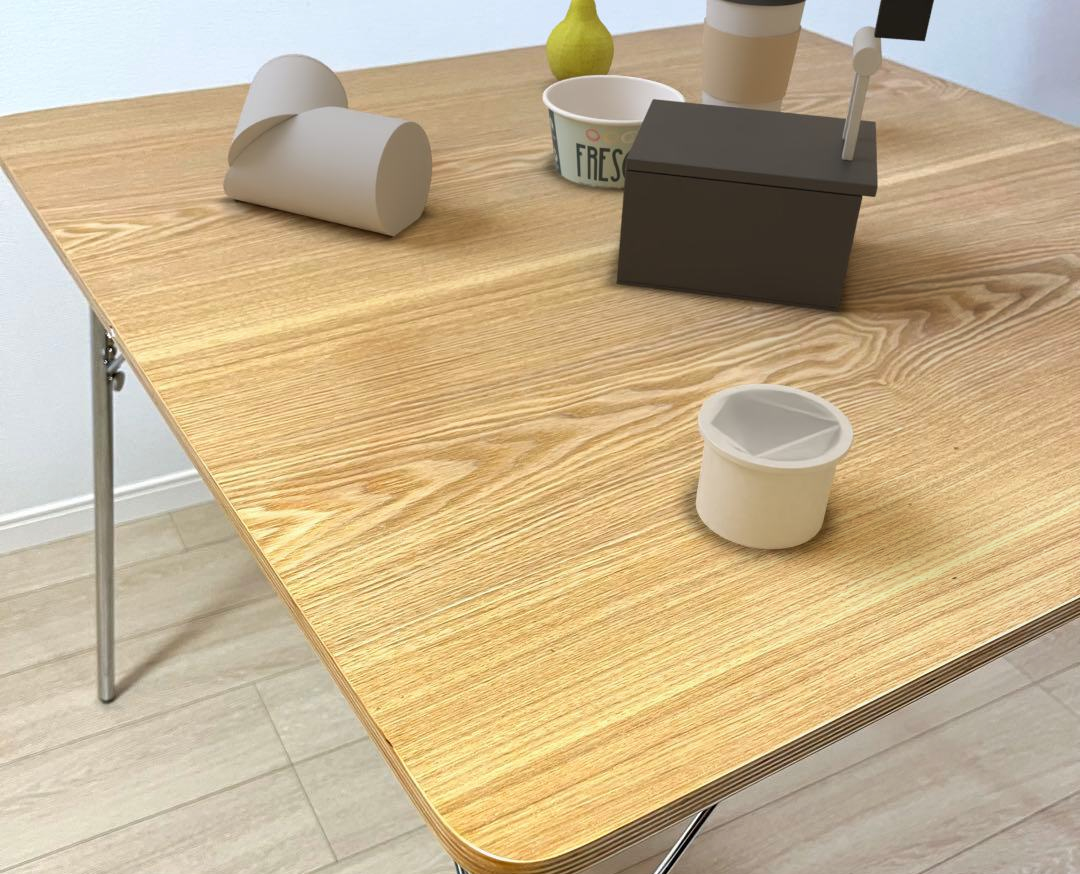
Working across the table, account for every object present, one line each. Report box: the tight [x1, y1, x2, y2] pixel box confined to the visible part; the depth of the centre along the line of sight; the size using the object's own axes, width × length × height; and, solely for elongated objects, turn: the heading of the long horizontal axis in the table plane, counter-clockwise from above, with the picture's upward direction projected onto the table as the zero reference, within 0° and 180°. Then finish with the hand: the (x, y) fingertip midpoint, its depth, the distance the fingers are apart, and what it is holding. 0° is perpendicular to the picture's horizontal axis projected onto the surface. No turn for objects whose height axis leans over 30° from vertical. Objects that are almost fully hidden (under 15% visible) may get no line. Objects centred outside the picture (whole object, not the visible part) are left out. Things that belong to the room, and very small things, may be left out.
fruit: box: [545, 0, 615, 82], centre depth 113 cm, size 7×7×12 cm
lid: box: [626, 25, 883, 198], centre depth 77 cm, size 16×13×8 cm
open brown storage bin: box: [615, 169, 863, 313], centre depth 82 cm, size 16×13×9 cm
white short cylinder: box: [695, 383, 855, 550], centre depth 59 cm, size 8×8×6 cm
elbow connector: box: [222, 53, 433, 237], centre depth 91 cm, size 18×10×20 cm
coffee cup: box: [700, 0, 807, 112], centre depth 103 cm, size 9×9×15 cm
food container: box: [542, 74, 687, 190], centre depth 97 cm, size 12×12×6 cm
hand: (892, 7), depth 68 cm, fingers open, 13 cm apart
